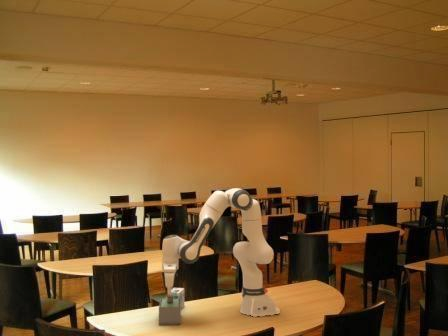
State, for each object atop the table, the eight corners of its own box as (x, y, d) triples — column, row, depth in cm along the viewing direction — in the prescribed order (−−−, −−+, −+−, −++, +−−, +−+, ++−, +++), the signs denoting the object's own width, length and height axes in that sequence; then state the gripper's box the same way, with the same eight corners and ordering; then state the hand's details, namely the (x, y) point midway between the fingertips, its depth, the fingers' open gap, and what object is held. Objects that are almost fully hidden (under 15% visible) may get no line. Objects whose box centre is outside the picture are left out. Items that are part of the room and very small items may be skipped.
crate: (180, 315, 250) (180, 298, 250) (180, 324, 236) (180, 307, 235) (160, 315, 250) (160, 298, 250) (158, 325, 235) (158, 307, 235)
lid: (178, 301, 249) (179, 292, 249) (178, 308, 236) (178, 299, 236) (162, 301, 249) (162, 292, 249) (160, 309, 236) (160, 300, 236)
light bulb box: (179, 312, 256) (179, 293, 256) (167, 311, 257) (168, 292, 257) (184, 306, 266) (184, 287, 266) (173, 305, 268) (173, 287, 268)
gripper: (165, 261, 252) (164, 286, 252) (163, 269, 232) (162, 296, 232) (176, 261, 253) (176, 286, 253) (175, 269, 232) (175, 296, 232)
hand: (169, 291), depth 242 cm, fingers open, 8 cm apart
